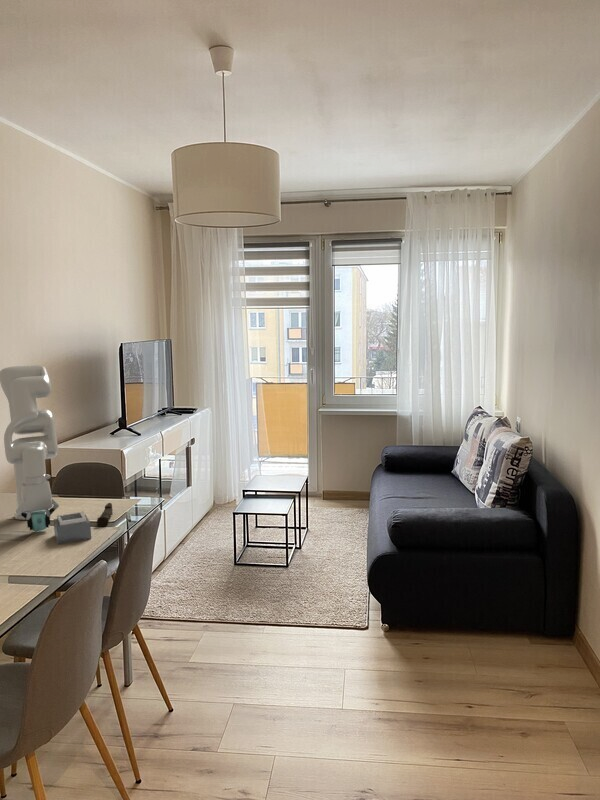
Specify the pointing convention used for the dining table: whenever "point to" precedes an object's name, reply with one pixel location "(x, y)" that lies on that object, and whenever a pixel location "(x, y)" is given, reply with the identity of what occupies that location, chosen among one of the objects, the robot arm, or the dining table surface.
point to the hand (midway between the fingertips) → (39, 527)
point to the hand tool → (105, 515)
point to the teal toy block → (38, 520)
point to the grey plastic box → (72, 528)
